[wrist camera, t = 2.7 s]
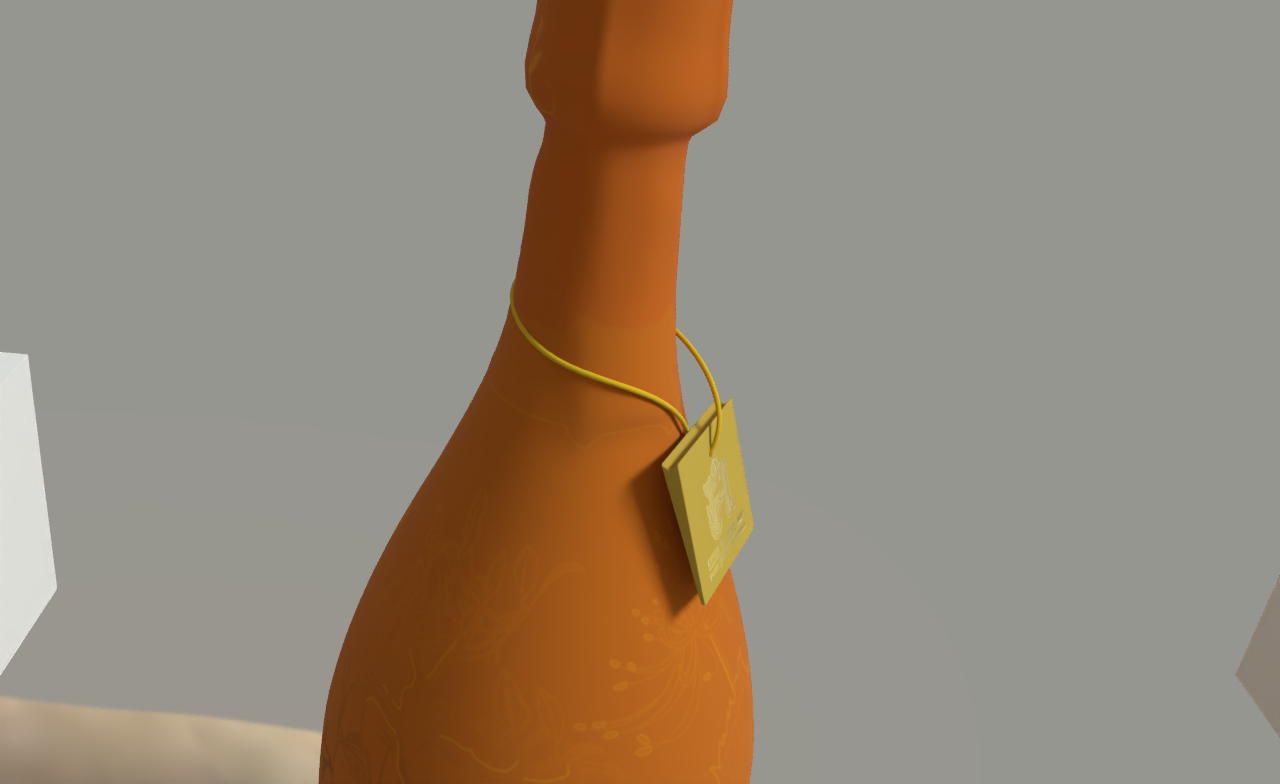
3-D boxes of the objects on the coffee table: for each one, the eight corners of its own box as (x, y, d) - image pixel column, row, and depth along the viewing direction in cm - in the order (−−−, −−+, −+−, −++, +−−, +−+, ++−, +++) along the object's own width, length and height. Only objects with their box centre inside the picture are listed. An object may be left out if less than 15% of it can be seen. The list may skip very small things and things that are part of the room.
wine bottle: (390, 1316, 26) (492, -178, 13) (271, 956, 34) (251, -242, 20) (752, 1123, 31) (1112, -107, 17) (580, 844, 38) (737, -179, 25)
